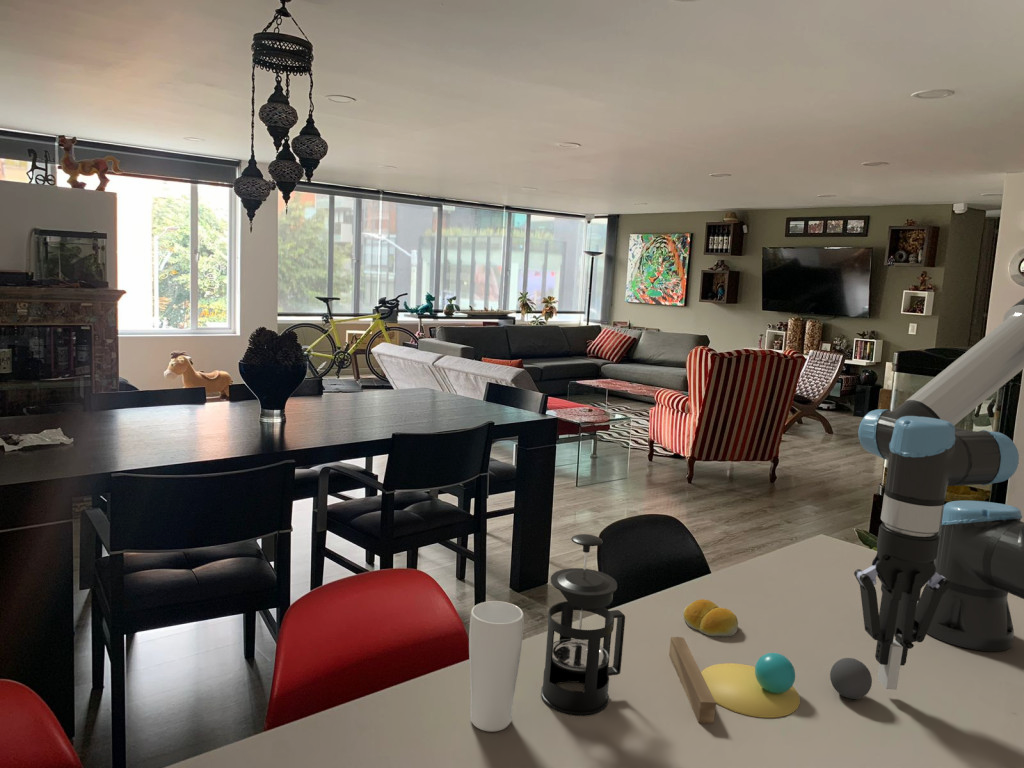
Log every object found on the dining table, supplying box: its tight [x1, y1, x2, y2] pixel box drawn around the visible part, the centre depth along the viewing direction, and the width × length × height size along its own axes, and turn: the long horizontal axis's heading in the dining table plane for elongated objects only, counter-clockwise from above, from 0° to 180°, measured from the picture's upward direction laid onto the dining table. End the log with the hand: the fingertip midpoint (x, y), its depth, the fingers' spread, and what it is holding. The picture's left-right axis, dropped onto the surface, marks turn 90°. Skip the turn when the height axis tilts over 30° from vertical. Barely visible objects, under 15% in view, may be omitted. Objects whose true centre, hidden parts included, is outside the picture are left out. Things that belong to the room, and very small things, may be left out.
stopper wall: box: [668, 636, 717, 725], centre depth 110 cm, size 2×18×3 cm, turn 1°
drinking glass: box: [468, 600, 524, 733], centre depth 97 cm, size 7×7×15 cm
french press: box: [540, 533, 626, 717], centre depth 104 cm, size 12×9×23 cm
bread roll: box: [682, 598, 739, 637], centre depth 130 cm, size 8×9×4 cm
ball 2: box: [829, 657, 873, 700], centre depth 110 cm, size 6×6×6 cm
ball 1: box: [754, 652, 796, 694], centre depth 110 cm, size 6×6×6 cm
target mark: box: [700, 662, 801, 719], centre depth 110 cm, size 14×14×1 cm
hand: (886, 684), depth 110 cm, fingers closed
